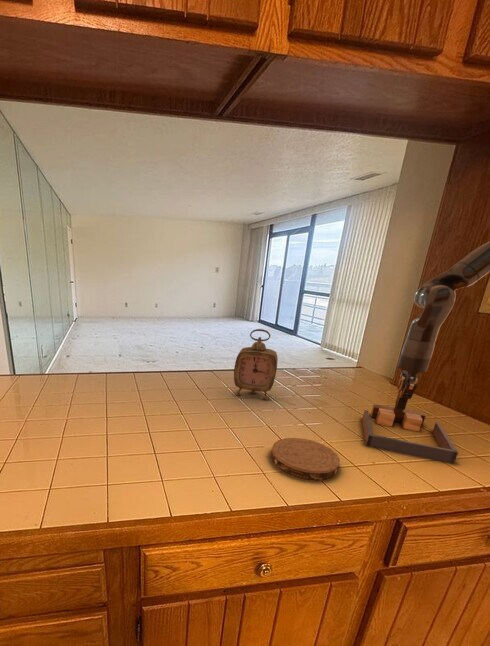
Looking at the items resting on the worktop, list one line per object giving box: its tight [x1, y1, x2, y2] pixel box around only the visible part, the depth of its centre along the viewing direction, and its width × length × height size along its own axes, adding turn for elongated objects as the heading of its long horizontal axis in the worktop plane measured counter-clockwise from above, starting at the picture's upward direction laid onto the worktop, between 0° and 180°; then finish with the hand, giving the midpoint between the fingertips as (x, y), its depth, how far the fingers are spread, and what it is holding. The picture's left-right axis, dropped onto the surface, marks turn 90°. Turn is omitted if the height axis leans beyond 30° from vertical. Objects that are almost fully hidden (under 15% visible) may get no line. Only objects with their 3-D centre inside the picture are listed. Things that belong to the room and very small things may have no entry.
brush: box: [370, 391, 426, 427], centre depth 110 cm, size 14×3×10 cm, turn 65°
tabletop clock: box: [233, 328, 279, 401], centre depth 126 cm, size 14×9×25 cm, turn 70°
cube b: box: [401, 413, 423, 432], centre depth 107 cm, size 4×4×4 cm
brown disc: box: [270, 437, 340, 483], centre depth 87 cm, size 16×16×3 cm
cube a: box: [375, 408, 395, 427], centre depth 110 cm, size 4×4×4 cm
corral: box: [361, 410, 459, 464], centre depth 100 cm, size 19×20×4 cm
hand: (399, 406), depth 110 cm, fingers closed on brush, 2 cm apart
